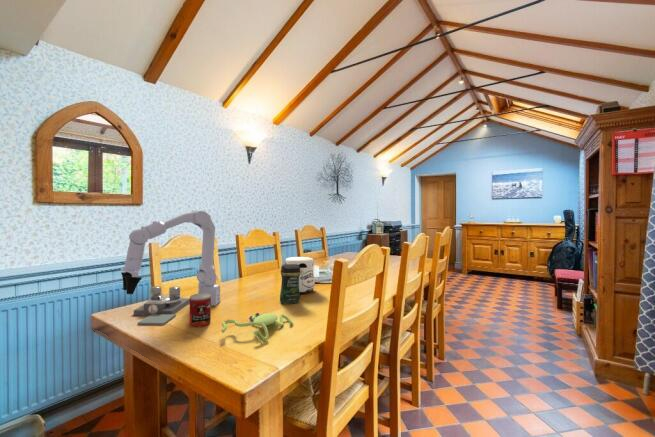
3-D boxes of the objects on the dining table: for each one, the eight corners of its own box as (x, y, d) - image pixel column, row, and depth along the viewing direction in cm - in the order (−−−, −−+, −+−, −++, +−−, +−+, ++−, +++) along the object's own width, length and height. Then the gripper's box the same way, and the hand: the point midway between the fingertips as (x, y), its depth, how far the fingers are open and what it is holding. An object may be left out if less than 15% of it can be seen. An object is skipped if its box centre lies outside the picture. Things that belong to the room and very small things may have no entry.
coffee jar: (281, 305, 148) (282, 266, 147) (278, 300, 155) (278, 263, 154) (301, 303, 151) (302, 265, 150) (297, 299, 158) (297, 262, 158)
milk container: (313, 296, 164) (314, 261, 164) (280, 295, 165) (281, 261, 164) (315, 287, 182) (316, 256, 181) (285, 287, 182) (286, 256, 181)
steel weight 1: (163, 297, 143) (163, 286, 143) (158, 299, 139) (158, 288, 139) (153, 297, 143) (153, 286, 143) (148, 299, 139) (148, 288, 139)
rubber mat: (176, 316, 130) (176, 314, 130) (163, 325, 120) (163, 323, 120) (151, 315, 130) (151, 314, 130) (137, 324, 120) (137, 322, 120)
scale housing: (190, 302, 149) (190, 292, 149) (172, 315, 131) (172, 304, 131) (156, 302, 149) (156, 292, 149) (133, 315, 130) (133, 304, 130)
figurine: (213, 340, 109) (213, 324, 109) (259, 316, 133) (259, 303, 133) (257, 350, 102) (257, 333, 101) (297, 323, 126) (297, 309, 126)
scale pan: (187, 295, 148) (187, 294, 148) (173, 304, 134) (173, 303, 134) (157, 295, 148) (157, 294, 148) (140, 304, 134) (140, 303, 134)
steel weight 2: (181, 297, 143) (181, 286, 143) (177, 300, 139) (177, 289, 139) (172, 297, 143) (172, 286, 143) (167, 300, 139) (167, 288, 139)
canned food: (190, 328, 117) (190, 299, 117) (188, 321, 124) (188, 294, 124) (211, 325, 121) (212, 297, 120) (209, 319, 128) (209, 292, 127)
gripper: (120, 255, 131) (113, 288, 130) (126, 260, 120) (119, 295, 119) (139, 256, 136) (133, 288, 134) (146, 261, 125) (140, 295, 124)
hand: (128, 291), depth 127 cm, fingers open, 7 cm apart
